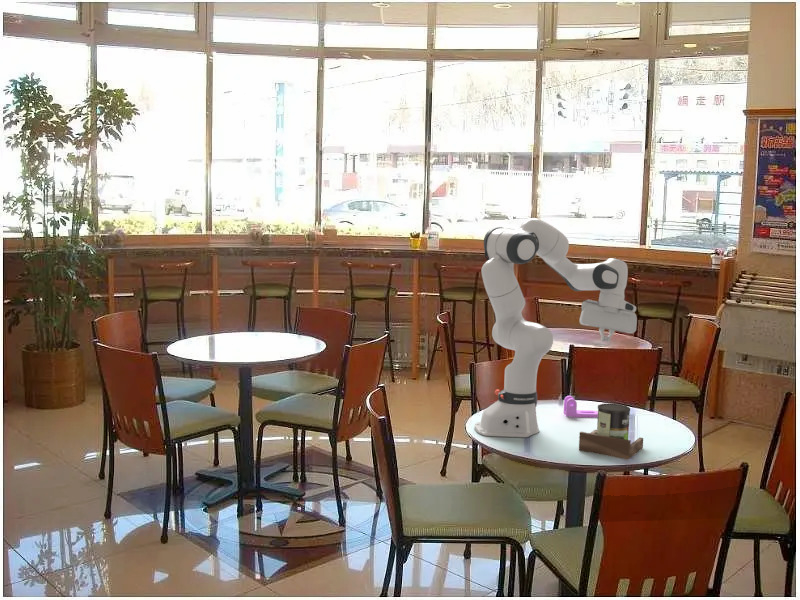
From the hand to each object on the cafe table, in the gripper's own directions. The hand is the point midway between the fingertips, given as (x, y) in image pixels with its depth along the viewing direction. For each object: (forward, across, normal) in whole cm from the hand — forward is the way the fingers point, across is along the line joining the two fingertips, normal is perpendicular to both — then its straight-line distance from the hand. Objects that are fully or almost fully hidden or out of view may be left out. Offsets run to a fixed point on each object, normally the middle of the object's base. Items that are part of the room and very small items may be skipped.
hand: (605, 341), depth 299 cm
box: (+37, +1, -24) cm, 44 cm away
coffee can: (+37, +1, -23) cm, 44 cm away
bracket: (+28, 0, +17) cm, 33 cm away
